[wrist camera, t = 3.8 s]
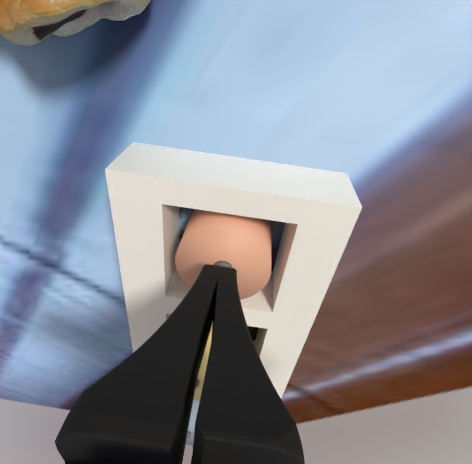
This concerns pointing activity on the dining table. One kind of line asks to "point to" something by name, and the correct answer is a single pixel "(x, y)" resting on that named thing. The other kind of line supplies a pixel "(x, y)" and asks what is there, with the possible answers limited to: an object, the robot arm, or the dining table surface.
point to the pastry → (59, 17)
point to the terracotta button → (226, 249)
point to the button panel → (236, 203)
